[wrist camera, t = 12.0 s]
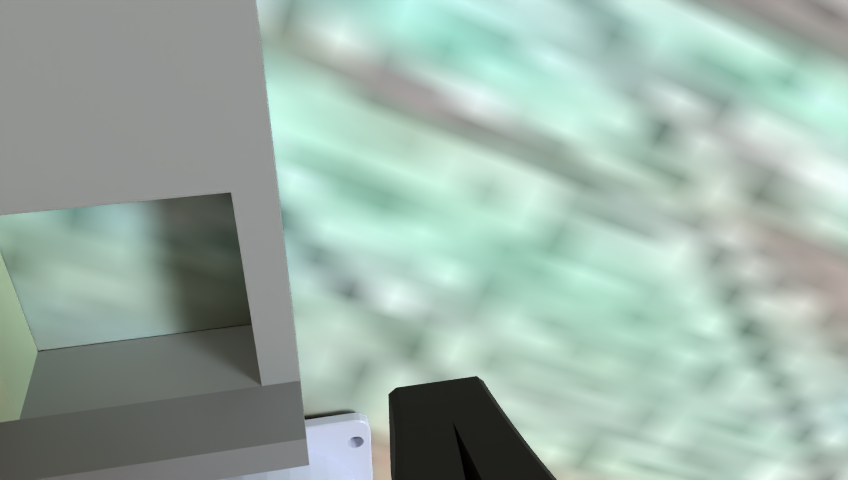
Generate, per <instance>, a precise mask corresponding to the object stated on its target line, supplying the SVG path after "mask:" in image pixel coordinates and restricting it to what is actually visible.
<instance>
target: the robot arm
mask: <svg viewBox="0 0 848 480" xmlns="http://www.w3.org/2000/svg"><path fill="white" fill-rule="evenodd" d="M389 425H390V459H391V477H392V480H556V478H555V477H554V476H553V475H552V474H551V472H550V471H549V470H548V469H547V468H546V466H545V465H544V464H543V463H542V462H541V460H540V459H539V458H538V457H537V455H536V454H535V453H534V452H533V450H532V449H531V448H530V446H529V445H528V444H527V443H526V441H525V440H524V439H523V437H522V436H521V435H520V433H519V432H518V431H517V429H516V428H515V427H514V425H513V424H512V423H511V421H510V420H509V418H508V417H507V416H506V414H505V413H504V411H503V410H502V409H501V407H500V406H499V404H498V403H497V401H496V400H495V398H494V397H493V396H492V394H491V393H490V391H489V390H488V388H487V386H486V385H485V383H484V382H483V381H482V380H481V379H480V378H478V377H477V376H475V377H468V378H461V379H454V380H447V381H440V382H433V383H426V384H419V385H412V386H405V387H398V388H395V389H394V390H393V391H392V392H391V393H390V394H389ZM305 428H306V437H307V447H308V457H309V465H308V466H301V467H295V468H288V469H282V470H276V471H269V472H263V473H257V474H250V475H244V476H237V477H231V478H225V479H218V480H373V474H372V454H371V434H370V425H369V420H368V417H366V416H365V415H364V414H361V413H349V414H342V415H335V416H328V417H321V418H315V419H308V420H305ZM353 437H357V438H353Z"/></svg>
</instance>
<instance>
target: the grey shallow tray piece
mask: <svg viewBox="0 0 848 480" xmlns="http://www.w3.org/2000/svg"><path fill="white" fill-rule="evenodd" d="M229 192H231V196H232V202H233V208H234V215H235V221H236V227H237V233H238V240H239V246H240V252H241V258H242V265H243V271H244V277H245V283H246V290H247V296H248V302H249V308H250V315H251V321H252V325H244V326H237V327H229V328H221V329H213V330H205V331H197V332H189V333H181V334H173V335H165V336H157V337H149V338H142V339H134V340H126V341H118V342H110V343H102V344H94V345H86V346H78V347H70V348H62V349H54V350H47V351H39V352H38V351H37V348H36V345H35V343H34V340H33V337H32V335H31V332H30V329H29V327H28V324H27V321H26V319H25V316H24V313H23V311H22V308H21V306H20V303H19V300H18V298H17V295H16V292H15V290H14V287H13V284H12V282H11V279H10V276H9V274H8V271H7V268H6V266H5V263H4V260H3V258H2V255H1V253H0V480H218V479H225V478H231V477H237V476H244V475H250V474H257V473H263V472H269V471H276V470H282V469H288V468H295V467H301V466H308V465H309V457H308V447H307V437H306V428H305V418H304V409H303V399H302V390H301V380H300V371H299V361H298V352H297V342H296V334H295V326H294V317H293V309H292V300H291V292H290V283H289V275H288V267H287V258H286V250H285V241H284V233H283V225H282V216H281V208H280V199H279V191H278V183H277V174H276V166H275V157H274V149H273V141H272V132H271V124H270V115H269V107H268V98H267V90H266V82H265V73H264V65H263V56H262V48H261V40H260V31H259V23H258V14H257V6H256V0H0V215H7V214H17V213H27V212H38V211H48V210H58V209H68V208H78V207H88V206H98V205H108V204H118V203H128V202H138V201H148V200H158V199H168V198H179V197H189V196H199V195H209V194H219V193H229Z"/></svg>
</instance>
